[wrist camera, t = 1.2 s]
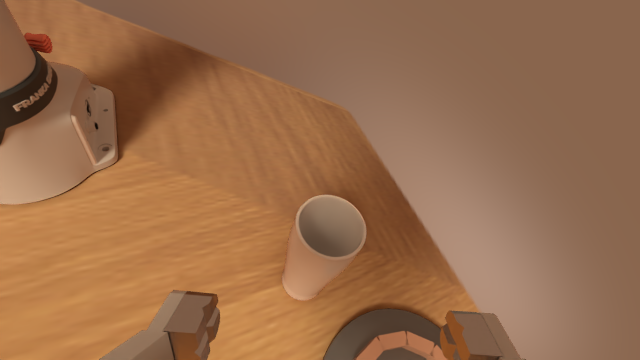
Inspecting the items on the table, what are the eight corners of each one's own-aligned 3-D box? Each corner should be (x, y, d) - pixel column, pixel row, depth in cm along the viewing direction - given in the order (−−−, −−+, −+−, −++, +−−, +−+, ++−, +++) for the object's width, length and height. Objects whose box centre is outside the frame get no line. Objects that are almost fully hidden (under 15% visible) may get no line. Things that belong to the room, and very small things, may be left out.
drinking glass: (321, 252, 42) (356, 191, 30) (333, 303, 38) (377, 255, 27) (271, 258, 40) (289, 195, 28) (279, 312, 36) (302, 265, 24)
